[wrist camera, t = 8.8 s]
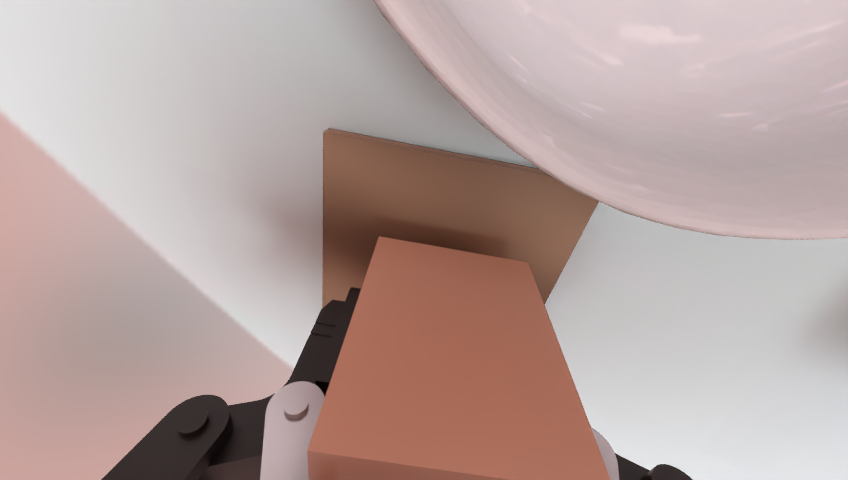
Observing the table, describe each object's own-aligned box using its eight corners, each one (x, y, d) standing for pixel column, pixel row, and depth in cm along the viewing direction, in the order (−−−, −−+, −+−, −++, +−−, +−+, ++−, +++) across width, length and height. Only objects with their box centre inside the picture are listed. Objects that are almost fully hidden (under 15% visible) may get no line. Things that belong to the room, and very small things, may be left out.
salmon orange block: (378, 236, 11) (307, 450, 5) (528, 262, 11) (616, 494, 5) (367, 338, 13) (312, 549, 8) (486, 357, 14) (515, 576, 8)
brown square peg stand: (329, 128, 11) (173, 247, 5) (598, 180, 12) (788, 352, 5) (326, 322, 17) (251, 502, 10) (511, 353, 17) (552, 542, 11)
